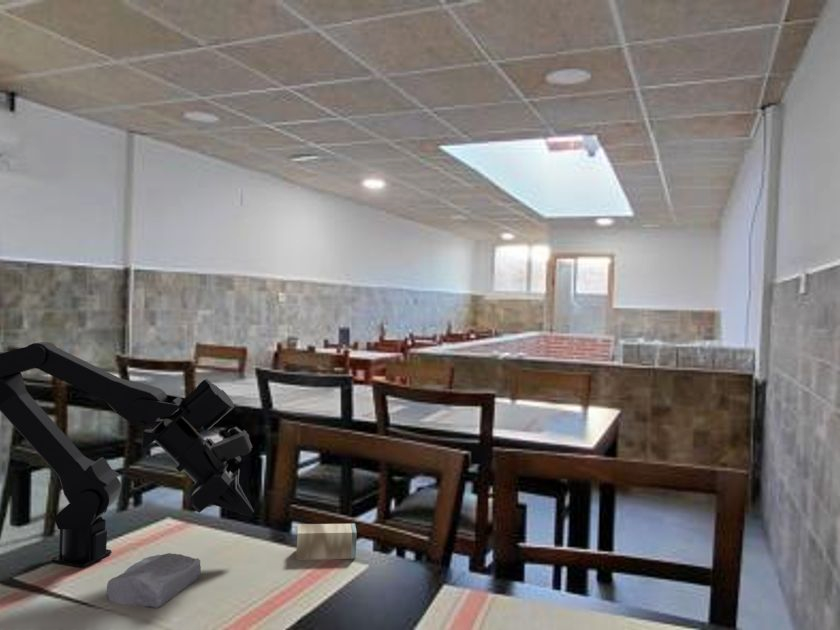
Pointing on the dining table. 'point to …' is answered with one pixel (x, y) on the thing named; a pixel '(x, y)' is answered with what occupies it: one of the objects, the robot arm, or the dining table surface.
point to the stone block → (154, 580)
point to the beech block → (326, 541)
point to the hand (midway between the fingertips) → (251, 514)
